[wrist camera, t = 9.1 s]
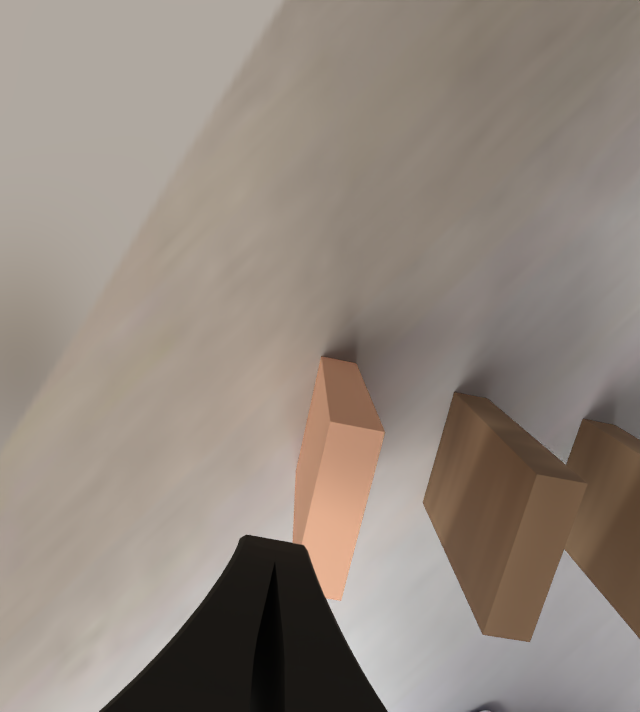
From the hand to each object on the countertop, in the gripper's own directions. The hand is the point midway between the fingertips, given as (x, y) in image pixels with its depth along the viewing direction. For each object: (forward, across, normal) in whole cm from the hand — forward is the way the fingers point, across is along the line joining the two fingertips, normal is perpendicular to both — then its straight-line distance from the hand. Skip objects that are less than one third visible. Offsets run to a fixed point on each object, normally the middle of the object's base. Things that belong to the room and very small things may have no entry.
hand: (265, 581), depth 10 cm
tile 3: (+10, -13, 0) cm, 16 cm away
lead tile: (+10, -2, 0) cm, 10 cm away
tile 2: (+10, -7, 0) cm, 12 cm away
